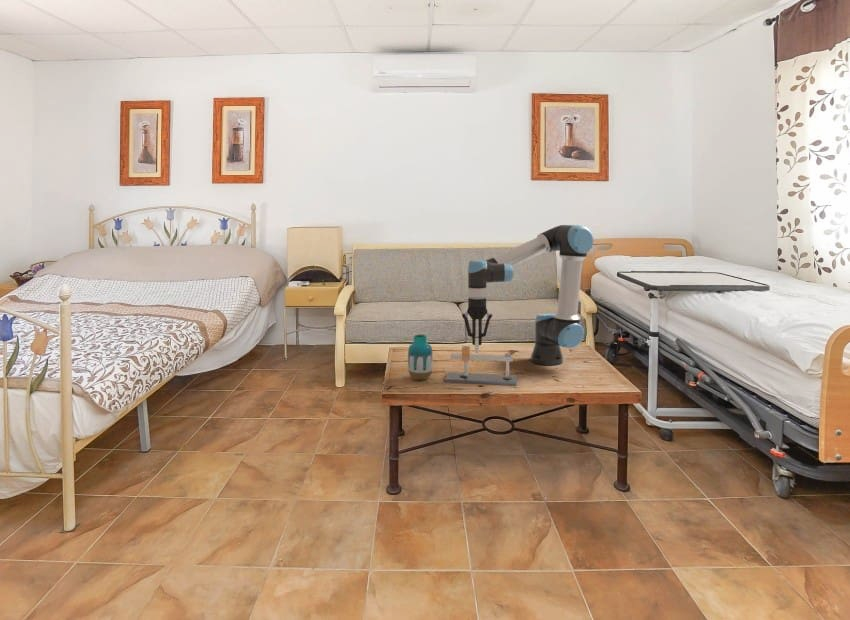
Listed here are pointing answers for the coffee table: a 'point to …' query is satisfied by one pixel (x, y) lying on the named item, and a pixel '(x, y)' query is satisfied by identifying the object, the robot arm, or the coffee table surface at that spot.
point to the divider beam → (488, 359)
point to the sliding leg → (465, 358)
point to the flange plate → (481, 378)
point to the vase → (420, 358)
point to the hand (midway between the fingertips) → (477, 352)
